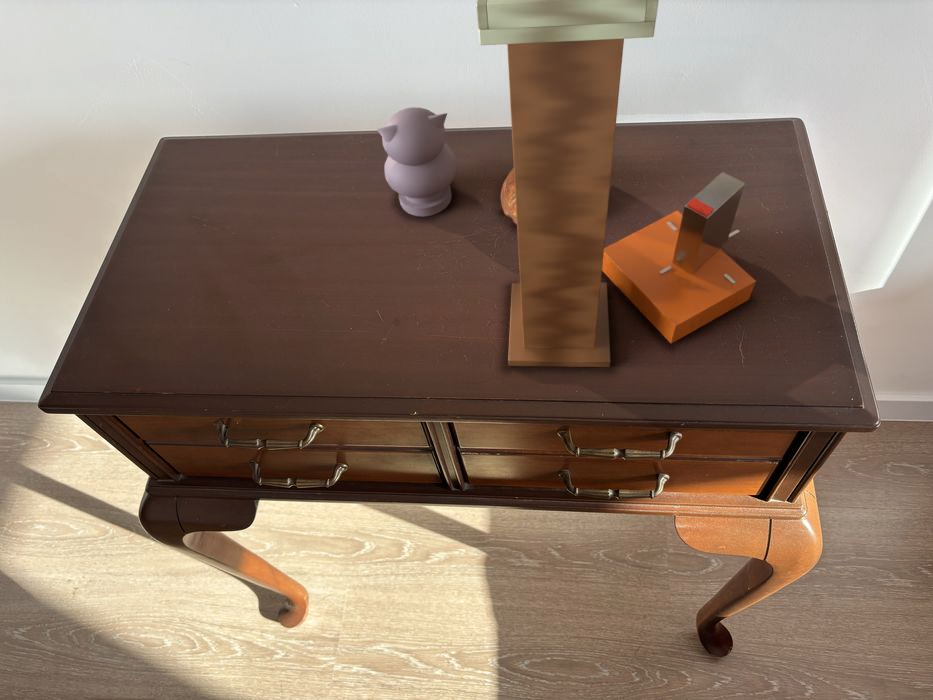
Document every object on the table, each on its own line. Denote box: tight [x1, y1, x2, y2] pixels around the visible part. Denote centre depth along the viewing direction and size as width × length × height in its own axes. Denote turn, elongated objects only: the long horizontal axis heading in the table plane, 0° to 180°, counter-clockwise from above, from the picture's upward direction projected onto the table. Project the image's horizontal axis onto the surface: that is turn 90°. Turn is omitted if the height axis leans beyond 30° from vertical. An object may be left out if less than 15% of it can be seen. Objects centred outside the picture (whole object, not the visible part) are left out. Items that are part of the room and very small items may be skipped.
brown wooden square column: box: [475, 0, 659, 368], centre depth 56 cm, size 10×10×38 cm
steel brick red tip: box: [672, 171, 746, 275], centre depth 68 cm, size 6×2×8 cm, turn 134°
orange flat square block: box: [602, 210, 757, 344], centre depth 72 cm, size 12×13×3 cm
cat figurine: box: [376, 106, 458, 218], centre depth 80 cm, size 8×8×12 cm
